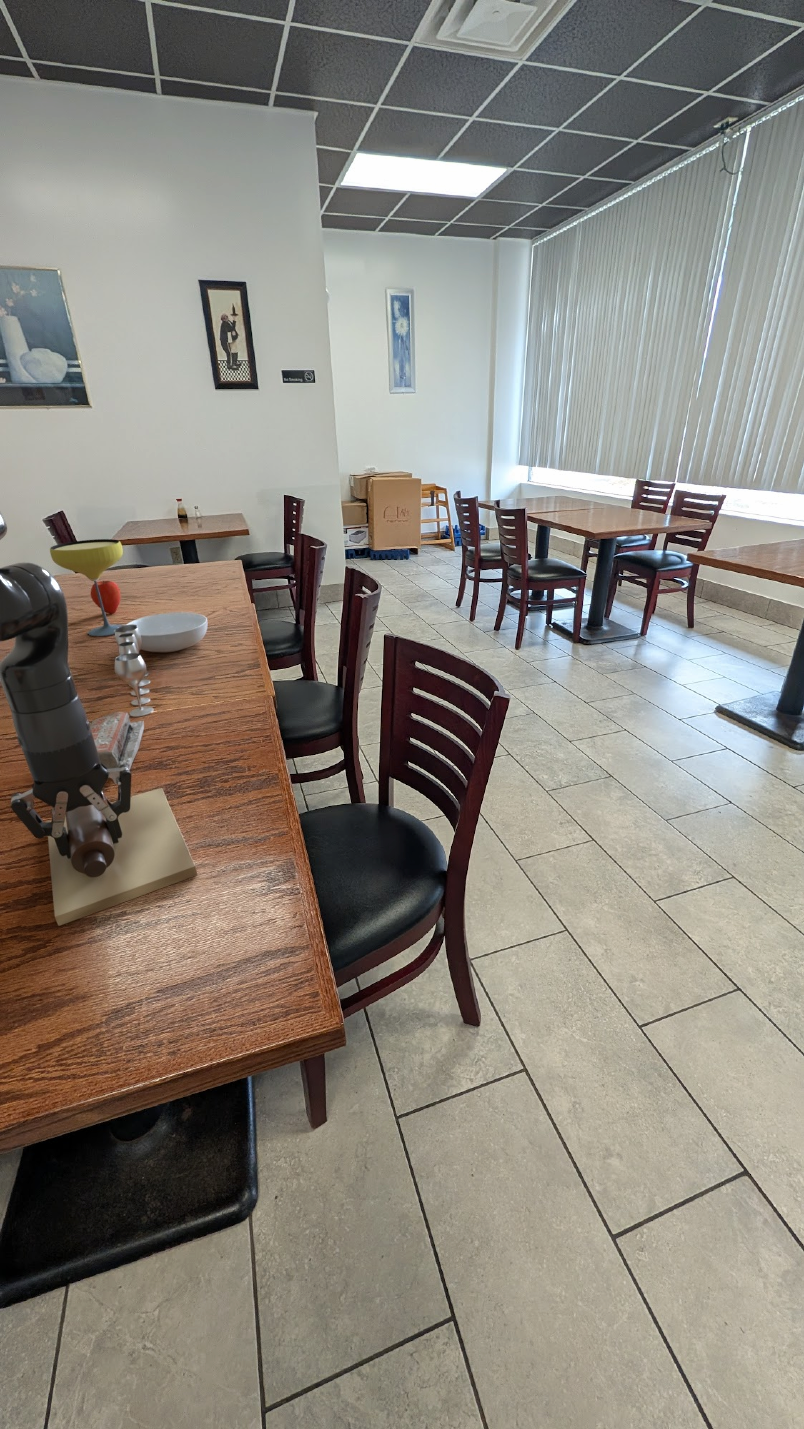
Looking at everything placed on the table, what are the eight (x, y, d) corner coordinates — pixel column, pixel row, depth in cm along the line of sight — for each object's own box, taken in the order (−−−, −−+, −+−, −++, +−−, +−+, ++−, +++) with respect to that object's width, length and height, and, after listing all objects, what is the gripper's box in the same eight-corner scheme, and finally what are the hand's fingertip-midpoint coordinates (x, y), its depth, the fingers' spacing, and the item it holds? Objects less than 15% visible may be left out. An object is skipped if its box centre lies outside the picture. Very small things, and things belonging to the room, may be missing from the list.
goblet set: (126, 674, 141) (112, 620, 135) (151, 669, 143) (139, 617, 137) (126, 720, 118) (110, 658, 112) (156, 714, 120) (142, 653, 114)
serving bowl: (171, 665, 145) (165, 638, 142) (112, 654, 154) (105, 629, 151) (227, 640, 162) (223, 615, 159) (171, 631, 171) (166, 608, 168)
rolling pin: (70, 825, 83) (59, 797, 81) (106, 813, 86) (96, 785, 83) (80, 892, 71) (67, 861, 69) (122, 876, 73) (110, 846, 71)
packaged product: (124, 749, 96) (58, 758, 94) (131, 774, 99) (67, 783, 97) (140, 705, 112) (84, 712, 110) (146, 727, 114) (91, 735, 112)
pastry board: (58, 926, 68) (54, 916, 67) (49, 829, 85) (46, 821, 85) (197, 875, 75) (195, 865, 75) (163, 795, 92) (161, 787, 92)
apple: (92, 617, 187) (83, 584, 182) (102, 610, 194) (93, 578, 190) (119, 616, 187) (111, 582, 183) (128, 609, 195) (120, 576, 190)
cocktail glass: (80, 626, 179) (56, 542, 168) (143, 619, 183) (124, 537, 173) (68, 644, 163) (41, 552, 152) (138, 636, 168) (116, 546, 157)
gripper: (115, 709, 77) (145, 816, 84) (-13, 738, 70) (31, 851, 78) (124, 731, 71) (154, 843, 78) (-16, 765, 64) (32, 884, 72)
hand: (92, 847), depth 78 cm, fingers closed on rolling pin, 5 cm apart
